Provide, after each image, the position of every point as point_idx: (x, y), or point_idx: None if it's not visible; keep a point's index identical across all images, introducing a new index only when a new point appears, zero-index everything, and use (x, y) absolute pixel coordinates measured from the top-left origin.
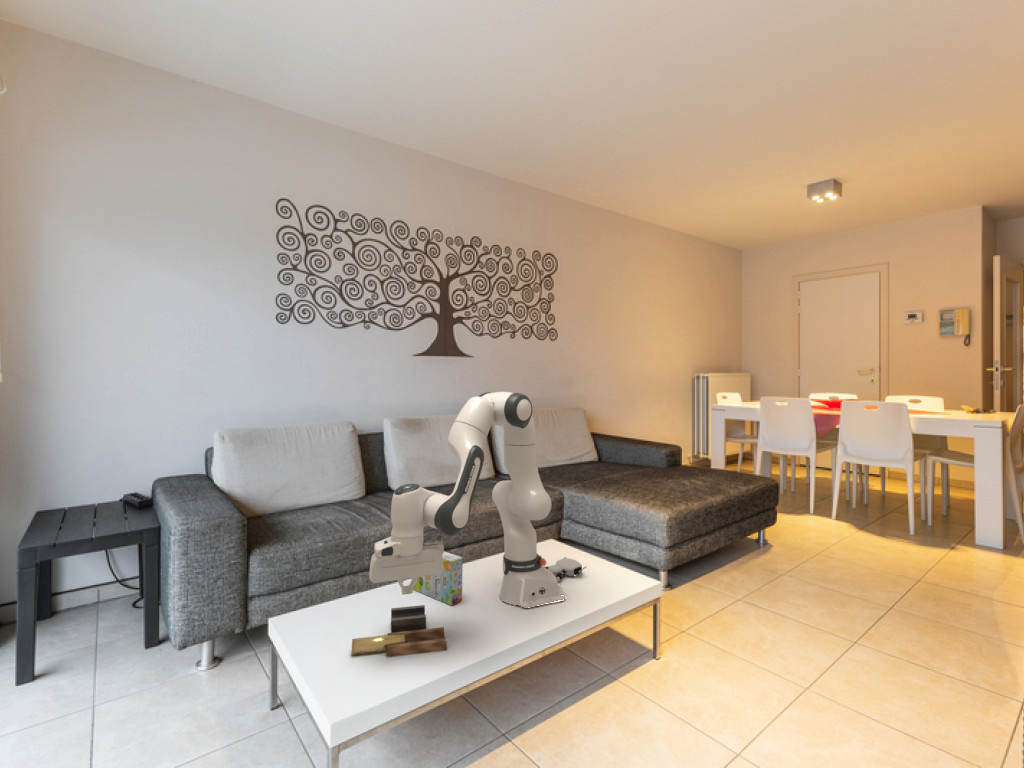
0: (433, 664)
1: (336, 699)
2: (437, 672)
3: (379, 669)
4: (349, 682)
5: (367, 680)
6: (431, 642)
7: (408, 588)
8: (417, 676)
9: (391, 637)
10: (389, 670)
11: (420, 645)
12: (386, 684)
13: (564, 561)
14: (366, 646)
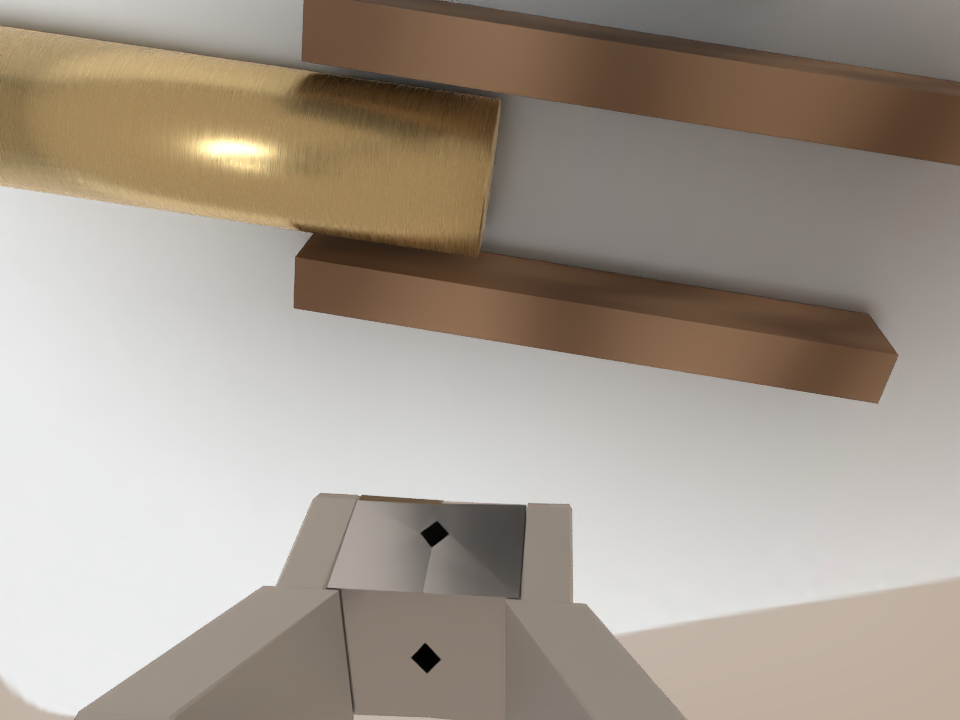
0: (665, 499)
1: (14, 592)
2: (659, 588)
3: (256, 411)
4: (58, 475)
5: (177, 498)
6: (727, 372)
7: (449, 713)
8: None
9: (332, 210)
10: (330, 449)
11: (615, 355)
12: None
13: None
14: (92, 199)
